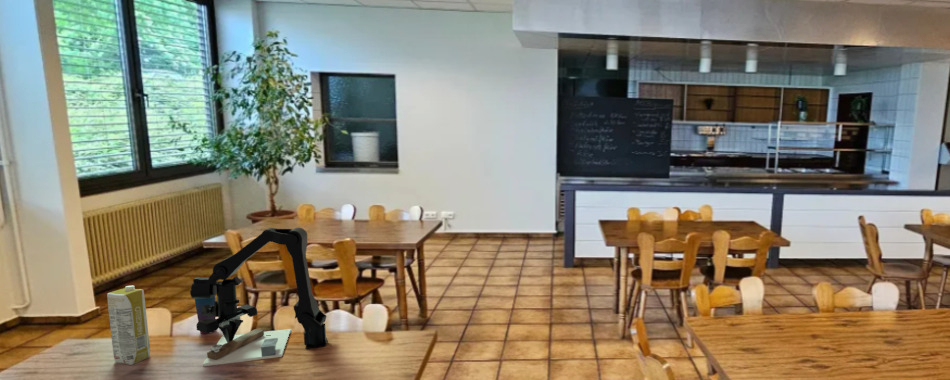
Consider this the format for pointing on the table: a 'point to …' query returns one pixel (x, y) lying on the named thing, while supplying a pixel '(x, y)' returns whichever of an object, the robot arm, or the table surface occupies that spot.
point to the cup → (199, 303)
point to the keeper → (269, 347)
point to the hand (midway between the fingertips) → (229, 342)
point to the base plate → (250, 348)
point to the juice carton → (128, 325)
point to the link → (236, 344)
